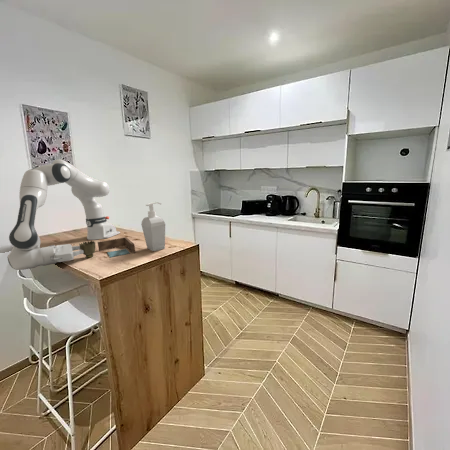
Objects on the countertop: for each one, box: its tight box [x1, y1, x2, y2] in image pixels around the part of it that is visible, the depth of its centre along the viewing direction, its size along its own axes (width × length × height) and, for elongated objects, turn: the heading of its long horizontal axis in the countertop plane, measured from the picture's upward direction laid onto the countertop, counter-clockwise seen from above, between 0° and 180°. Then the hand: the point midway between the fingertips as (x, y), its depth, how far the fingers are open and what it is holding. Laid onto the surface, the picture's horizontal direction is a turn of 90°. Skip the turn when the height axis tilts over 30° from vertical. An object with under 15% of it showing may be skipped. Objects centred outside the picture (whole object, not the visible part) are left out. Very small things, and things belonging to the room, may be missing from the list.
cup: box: [78, 240, 96, 259], centre depth 134 cm, size 8×7×8 cm
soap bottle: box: [141, 201, 166, 252], centre depth 142 cm, size 12×10×26 cm
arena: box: [97, 236, 136, 259], centre depth 142 cm, size 16×20×5 cm
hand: (82, 249), depth 133 cm, fingers open, 8 cm apart
